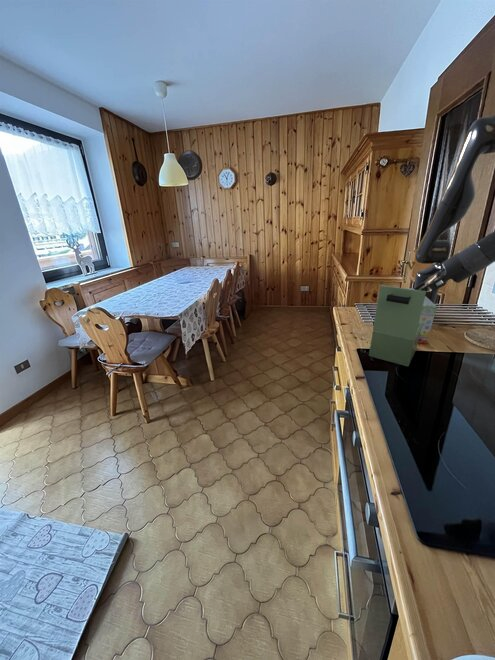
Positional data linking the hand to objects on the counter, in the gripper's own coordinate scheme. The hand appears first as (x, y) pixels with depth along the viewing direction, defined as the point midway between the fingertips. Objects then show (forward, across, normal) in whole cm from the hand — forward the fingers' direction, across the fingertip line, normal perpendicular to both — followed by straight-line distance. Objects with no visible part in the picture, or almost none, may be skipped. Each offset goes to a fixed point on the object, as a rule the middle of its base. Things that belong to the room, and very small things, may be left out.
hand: (413, 294), depth 91 cm
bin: (+17, +1, +14) cm, 22 cm away
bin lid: (+4, +8, +1) cm, 9 cm away
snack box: (+16, -20, +15) cm, 30 cm away
